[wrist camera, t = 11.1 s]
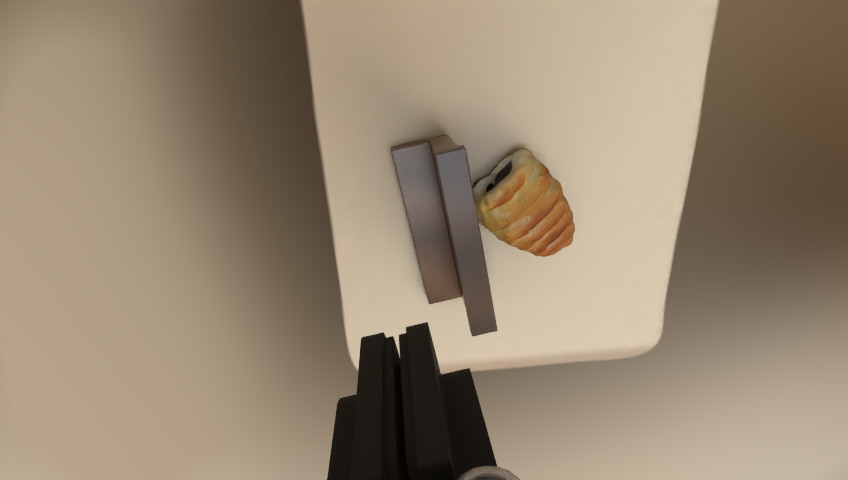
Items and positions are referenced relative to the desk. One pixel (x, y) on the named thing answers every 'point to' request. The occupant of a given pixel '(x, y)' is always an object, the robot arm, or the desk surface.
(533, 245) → the pastry
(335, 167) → the desk surface
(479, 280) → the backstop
